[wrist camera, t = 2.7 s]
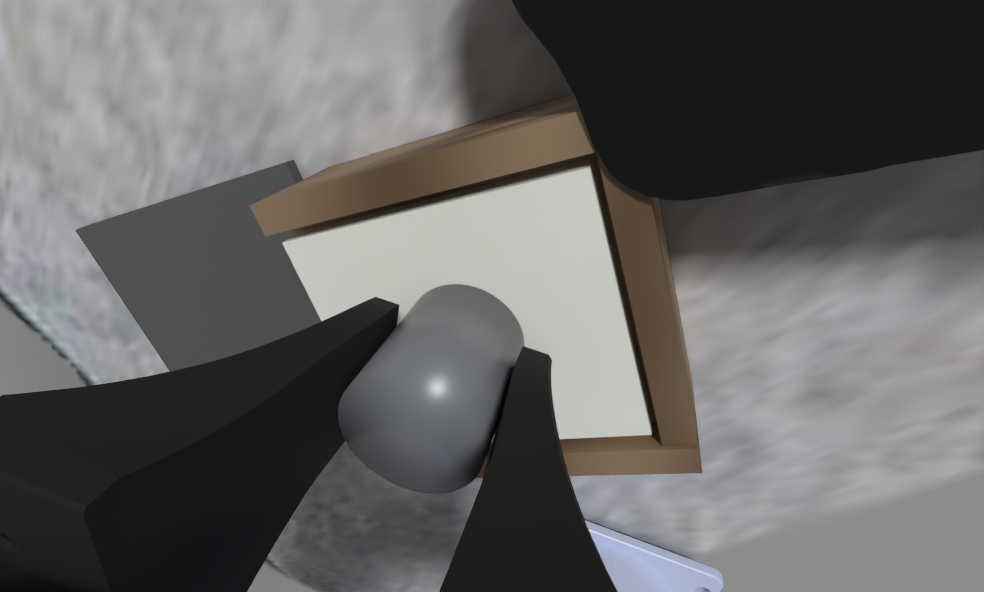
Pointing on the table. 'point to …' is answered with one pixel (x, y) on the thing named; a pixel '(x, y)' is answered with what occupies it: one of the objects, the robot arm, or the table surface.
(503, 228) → the cover plate
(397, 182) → the walnut case
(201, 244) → the rubber mat
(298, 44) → the table surface
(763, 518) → the table surface
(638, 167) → the black sponge
